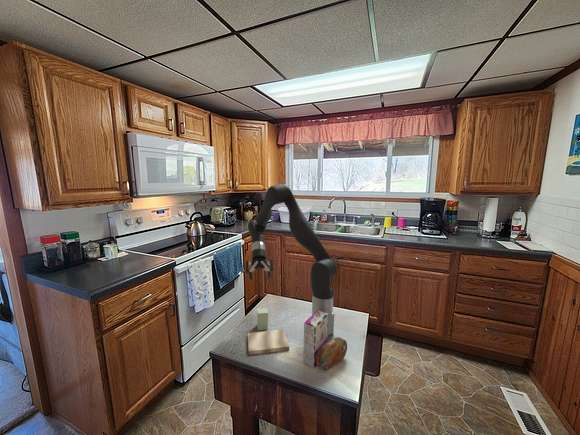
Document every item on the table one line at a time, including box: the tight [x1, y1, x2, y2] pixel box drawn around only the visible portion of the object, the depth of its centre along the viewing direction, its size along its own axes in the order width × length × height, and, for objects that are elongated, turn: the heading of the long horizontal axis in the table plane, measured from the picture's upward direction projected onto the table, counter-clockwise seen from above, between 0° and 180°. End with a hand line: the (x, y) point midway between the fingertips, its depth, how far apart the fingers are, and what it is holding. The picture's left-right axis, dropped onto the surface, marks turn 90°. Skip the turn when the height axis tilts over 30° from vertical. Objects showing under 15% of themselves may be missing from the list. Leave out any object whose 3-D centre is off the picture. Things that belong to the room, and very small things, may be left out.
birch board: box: [247, 329, 290, 356], centre depth 102 cm, size 16×12×2 cm
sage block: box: [256, 307, 269, 331], centre depth 113 cm, size 4×4×8 cm
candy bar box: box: [303, 310, 329, 369], centre depth 93 cm, size 11×5×16 cm, turn 147°
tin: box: [316, 337, 348, 372], centre depth 91 cm, size 15×3×8 cm, turn 130°
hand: (260, 279), depth 124 cm, fingers open, 8 cm apart
